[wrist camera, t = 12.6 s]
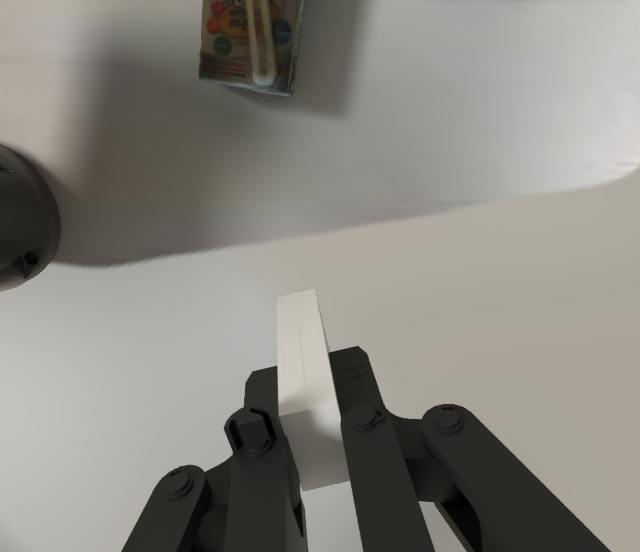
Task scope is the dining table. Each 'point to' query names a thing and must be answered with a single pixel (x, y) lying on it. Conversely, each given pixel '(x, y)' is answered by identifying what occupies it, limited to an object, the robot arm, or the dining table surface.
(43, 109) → the dining table surface
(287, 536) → the robot arm
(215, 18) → the beverage carton
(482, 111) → the dining table surface
